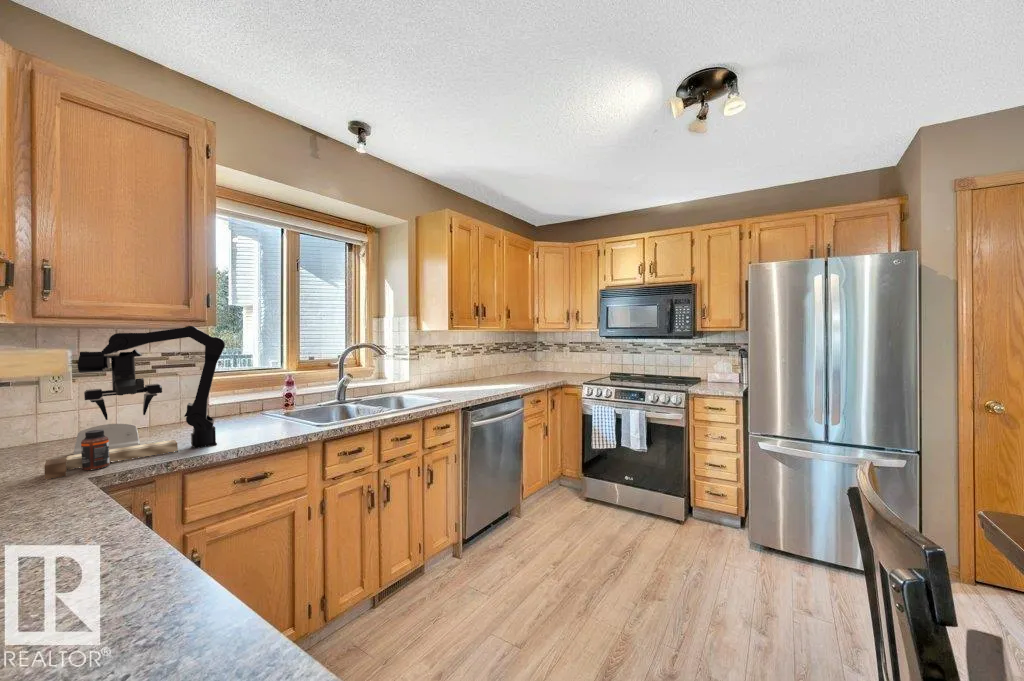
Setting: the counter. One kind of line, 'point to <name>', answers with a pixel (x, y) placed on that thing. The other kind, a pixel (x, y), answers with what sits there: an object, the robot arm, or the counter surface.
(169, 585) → the counter surface
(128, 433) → the grey curved bracket
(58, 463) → the walnut block
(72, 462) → the maple board
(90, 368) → the robot arm
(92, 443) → the supplement bottle
